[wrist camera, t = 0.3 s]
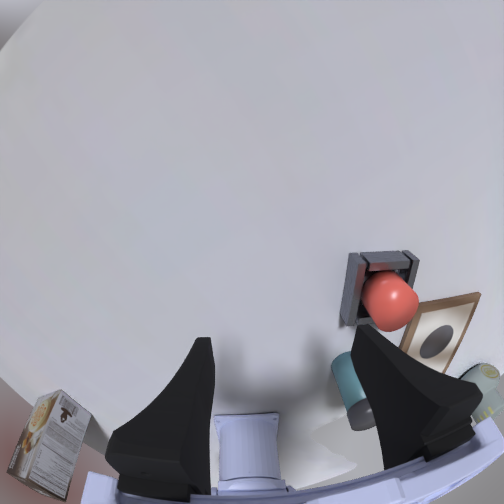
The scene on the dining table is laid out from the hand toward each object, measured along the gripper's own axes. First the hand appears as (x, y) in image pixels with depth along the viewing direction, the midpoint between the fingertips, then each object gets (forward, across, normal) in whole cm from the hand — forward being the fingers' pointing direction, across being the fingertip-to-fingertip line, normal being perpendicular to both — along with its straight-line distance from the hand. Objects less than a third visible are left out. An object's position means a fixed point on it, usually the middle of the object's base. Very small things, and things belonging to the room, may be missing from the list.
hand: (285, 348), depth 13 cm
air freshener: (+10, -36, +25) cm, 45 cm away
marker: (+10, -9, +13) cm, 18 cm away
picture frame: (+10, -21, +14) cm, 27 cm away
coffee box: (+10, +30, +23) cm, 40 cm away
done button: (+8, -10, +3) cm, 13 cm away
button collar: (+10, -10, +3) cm, 14 cm away
